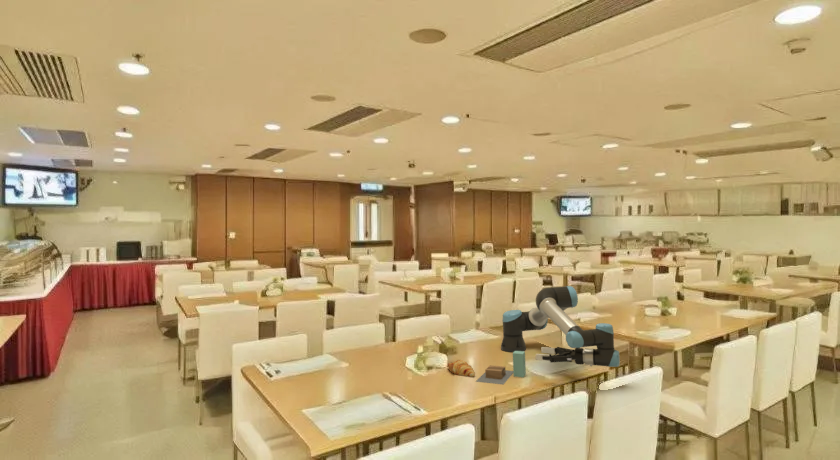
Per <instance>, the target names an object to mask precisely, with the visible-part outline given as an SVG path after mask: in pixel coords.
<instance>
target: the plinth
mask: <svg viewBox="0 0 840 460" xmlns="http://www.w3.org/2000/svg"><path fill="white" fill-rule="evenodd" d="M505 370H506V366H501V365H489V366H488V367H487V368H485V372H484V373H486V378H493V379H502V378H503V377H504V376H505V375H506V371H505Z"/></svg>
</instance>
